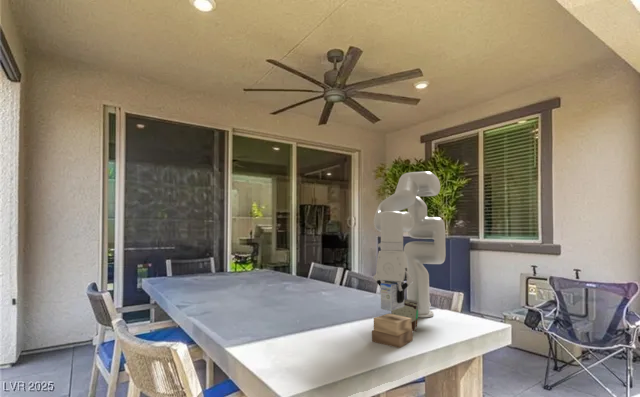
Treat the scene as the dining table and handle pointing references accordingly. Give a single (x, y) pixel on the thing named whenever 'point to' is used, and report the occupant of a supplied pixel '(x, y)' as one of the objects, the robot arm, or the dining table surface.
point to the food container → (409, 312)
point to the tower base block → (392, 338)
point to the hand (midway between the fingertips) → (392, 300)
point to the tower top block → (392, 324)
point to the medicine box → (390, 296)
